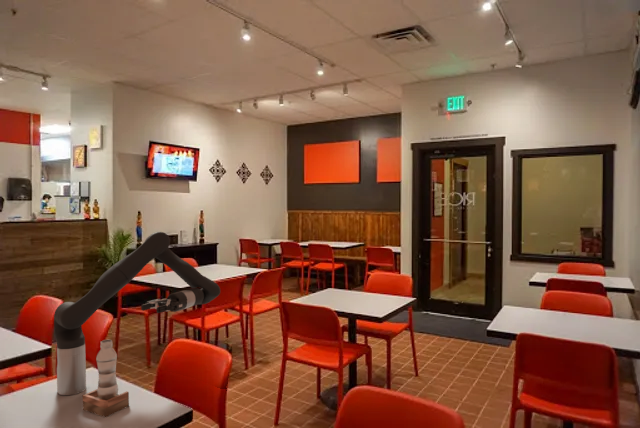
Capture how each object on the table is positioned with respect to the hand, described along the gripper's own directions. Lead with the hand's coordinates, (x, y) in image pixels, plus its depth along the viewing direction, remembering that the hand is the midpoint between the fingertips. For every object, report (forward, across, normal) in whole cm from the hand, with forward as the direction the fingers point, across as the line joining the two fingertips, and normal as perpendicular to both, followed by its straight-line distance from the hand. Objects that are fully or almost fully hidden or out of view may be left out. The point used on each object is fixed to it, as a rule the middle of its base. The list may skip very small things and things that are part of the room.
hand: (149, 309), depth 168 cm
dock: (+19, 0, +30) cm, 36 cm away
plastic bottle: (+19, 0, +27) cm, 33 cm away
